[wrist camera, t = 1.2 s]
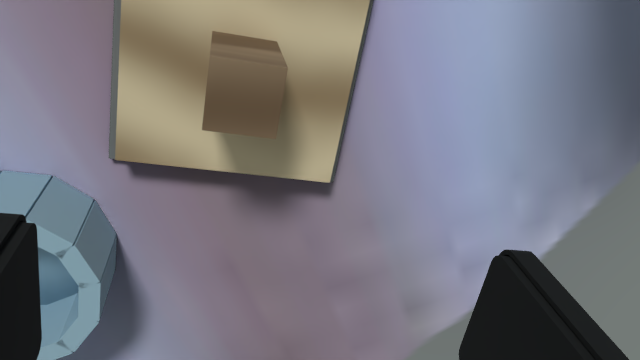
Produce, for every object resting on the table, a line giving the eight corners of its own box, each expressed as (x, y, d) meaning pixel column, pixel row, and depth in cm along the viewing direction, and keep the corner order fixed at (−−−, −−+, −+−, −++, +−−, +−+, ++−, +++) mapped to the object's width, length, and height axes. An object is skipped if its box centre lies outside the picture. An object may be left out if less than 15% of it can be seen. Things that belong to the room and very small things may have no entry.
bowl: (-71, 163, 27) (-122, 206, 23) (119, 182, 29) (102, 224, 25) (-55, 307, 31) (-96, 366, 27) (113, 315, 33) (97, 371, 29)
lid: (129, -84, 23) (99, -83, 18) (370, -35, 26) (410, -21, 20) (119, 150, 28) (93, 208, 22) (326, 173, 30) (348, 230, 25)
